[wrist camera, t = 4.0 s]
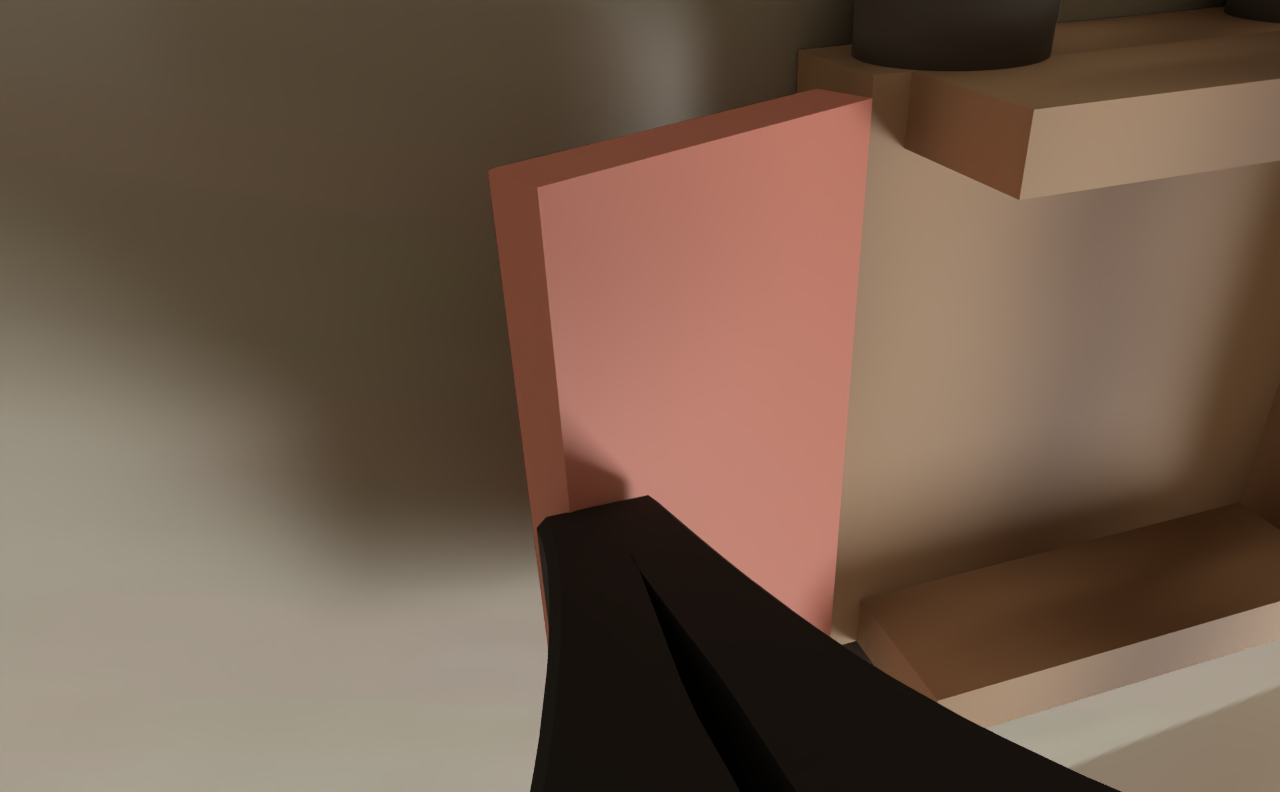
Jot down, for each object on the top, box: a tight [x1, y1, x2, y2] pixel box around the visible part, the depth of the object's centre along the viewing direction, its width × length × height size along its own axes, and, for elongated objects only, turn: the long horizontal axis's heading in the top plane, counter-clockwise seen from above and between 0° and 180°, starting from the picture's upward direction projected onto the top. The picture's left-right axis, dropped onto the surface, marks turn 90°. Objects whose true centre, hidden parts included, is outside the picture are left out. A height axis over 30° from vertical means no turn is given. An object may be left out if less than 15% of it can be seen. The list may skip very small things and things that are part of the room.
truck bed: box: [797, 0, 1280, 728], centre depth 14 cm, size 9×11×4 cm
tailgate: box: [488, 89, 873, 644], centre depth 12 cm, size 1×9×4 cm
